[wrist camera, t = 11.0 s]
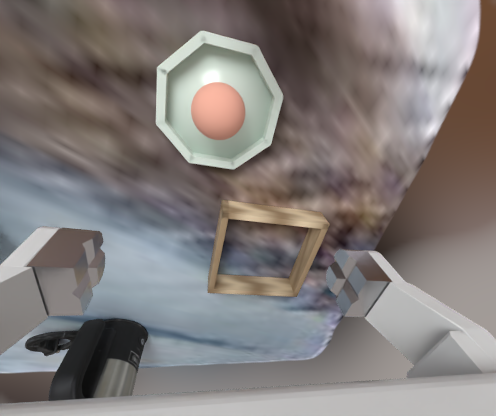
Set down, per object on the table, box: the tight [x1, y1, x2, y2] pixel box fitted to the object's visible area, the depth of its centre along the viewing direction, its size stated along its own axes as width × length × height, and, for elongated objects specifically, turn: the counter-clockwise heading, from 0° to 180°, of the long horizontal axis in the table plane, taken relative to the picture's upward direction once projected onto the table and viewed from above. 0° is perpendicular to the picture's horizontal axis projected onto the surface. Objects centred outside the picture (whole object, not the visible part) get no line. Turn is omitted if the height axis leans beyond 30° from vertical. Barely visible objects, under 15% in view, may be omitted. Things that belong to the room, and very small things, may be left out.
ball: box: [191, 82, 245, 140], centre depth 23 cm, size 5×5×5 cm
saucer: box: [156, 31, 284, 169], centre depth 25 cm, size 12×12×2 cm
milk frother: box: [25, 319, 148, 401], centre depth 36 cm, size 14×16×15 cm
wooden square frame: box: [208, 200, 330, 297], centre depth 35 cm, size 14×14×3 cm
